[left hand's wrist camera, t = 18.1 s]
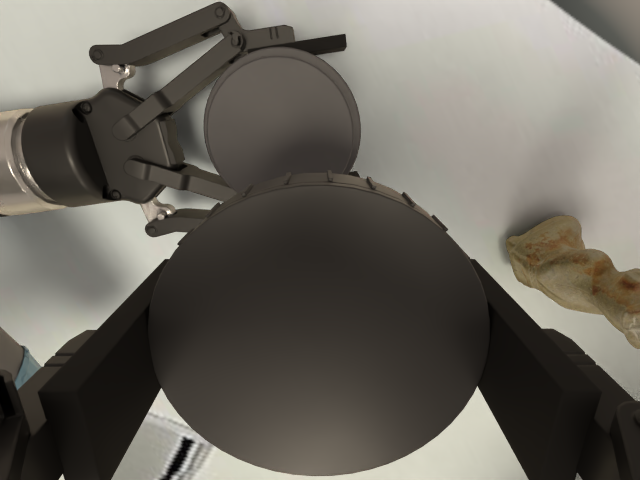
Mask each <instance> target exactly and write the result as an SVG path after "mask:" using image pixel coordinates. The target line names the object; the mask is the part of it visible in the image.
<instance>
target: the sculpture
mask: <svg viewBox="0 0 640 480" xmlns="http://www.w3.org/2000/svg"><path fill="white" fill-rule="evenodd" d="M506 247H507V251H508V253H509V257H510V261H511V265H512V269H513V272H514V274H515V276H516V278H517V280H518V281H519V282H521V283H523V284H524V285H526V286H528V287H530V288H536V289H538V290H540V291H542V292H543V293H544V294H545V295H546V296H548V297H549V298H551V299H552V300H553V301H555V302H556V303H558V304H559V305H561V306H562V307H564V308H567V309H571V310H576V311H581V312H586V313H592V314H601V315H604V316H605V317H606V318H607V319H608V320H609V321H610V323H611V324H612V325H613V326H614V327H616V328H617V329H618V330H619V331H621V332H622V333H624V334H625V336H626V338H627V340H628V342H629V343H630V344H631V345H632V346H633V347H635V348H637V349H640V269H636V268H635V269H632V270H628V271H625V272H619V271H617V270H616V269H615V267H614V265H613V263H612V261H611V259H610V258H609V256H608V255H607V254H605V253H604V252H602V251H599V250H595V249H585V246H584V243H583V240H582V239H581V225H580V223H579V221H578V220H577V219H576V218H574V217H572V216H556V217H553V218H550V219H548V220H546V221H544V222H542V223H540V224H538V225H537V226H535V227H534V228H532V229H531V230H529V231H528V232H526V233H525V234H523V235H520V236H511V237H509V238H508V239H507V240H506Z"/></svg>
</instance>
